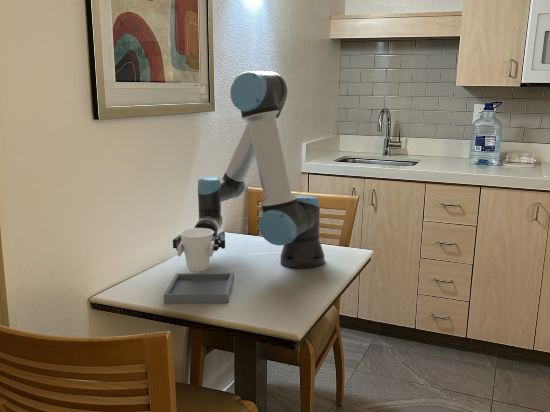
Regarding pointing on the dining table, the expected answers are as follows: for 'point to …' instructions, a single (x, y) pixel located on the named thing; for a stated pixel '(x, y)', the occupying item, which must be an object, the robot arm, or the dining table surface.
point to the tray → (199, 288)
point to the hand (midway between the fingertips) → (194, 251)
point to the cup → (197, 247)
